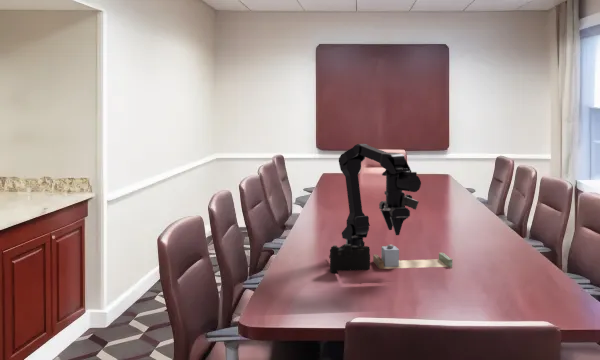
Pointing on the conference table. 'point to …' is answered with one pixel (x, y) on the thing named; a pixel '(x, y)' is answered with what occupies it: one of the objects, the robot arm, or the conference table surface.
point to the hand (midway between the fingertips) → (393, 232)
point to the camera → (349, 258)
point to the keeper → (390, 255)
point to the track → (417, 262)
